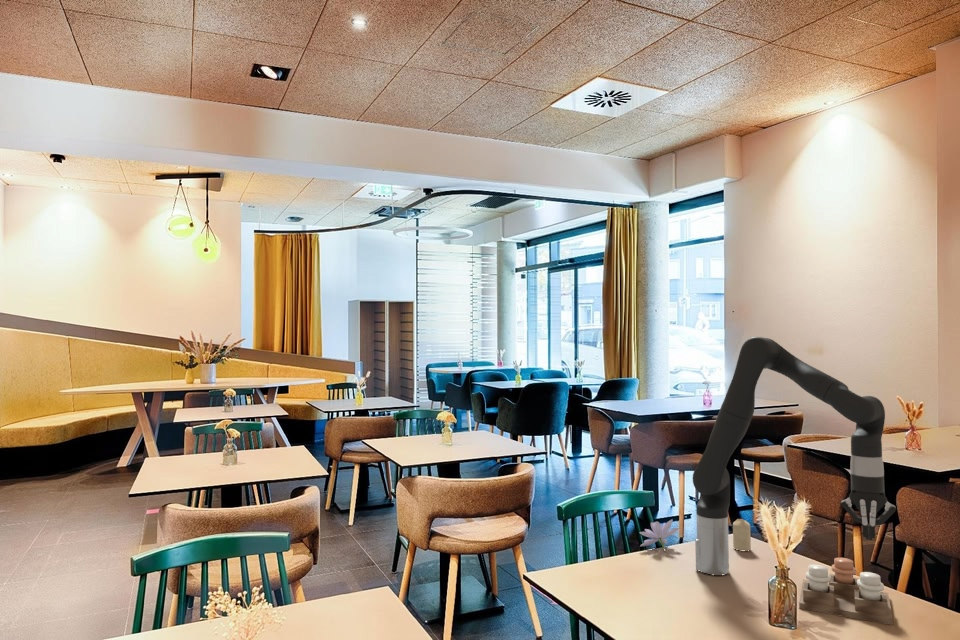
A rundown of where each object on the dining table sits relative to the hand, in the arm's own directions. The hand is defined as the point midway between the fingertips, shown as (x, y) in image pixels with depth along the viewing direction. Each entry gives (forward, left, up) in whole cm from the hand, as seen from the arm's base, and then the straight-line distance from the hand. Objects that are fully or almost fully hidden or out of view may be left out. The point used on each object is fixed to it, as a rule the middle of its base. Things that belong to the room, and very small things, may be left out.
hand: (869, 539), depth 168 cm
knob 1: (-12, 0, -15) cm, 19 cm away
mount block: (-6, +5, -19) cm, 21 cm away
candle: (-37, +39, -20) cm, 57 cm away
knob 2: (0, 0, -15) cm, 15 cm away
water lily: (-62, +28, -20) cm, 71 cm away
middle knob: (-6, +10, -15) cm, 19 cm away
